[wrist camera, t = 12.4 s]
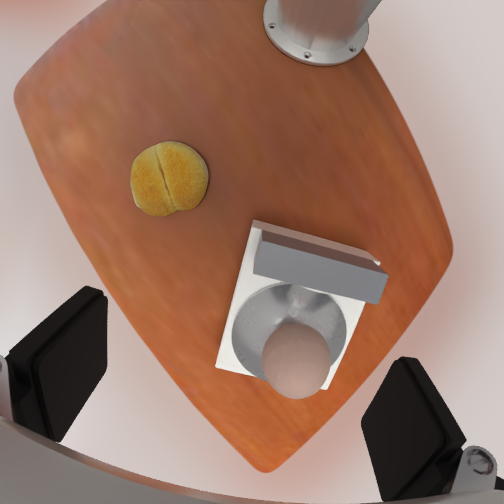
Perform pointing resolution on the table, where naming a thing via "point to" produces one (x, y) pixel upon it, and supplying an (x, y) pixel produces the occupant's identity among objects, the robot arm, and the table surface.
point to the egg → (296, 360)
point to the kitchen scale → (303, 278)
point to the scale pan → (284, 321)
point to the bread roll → (168, 178)
